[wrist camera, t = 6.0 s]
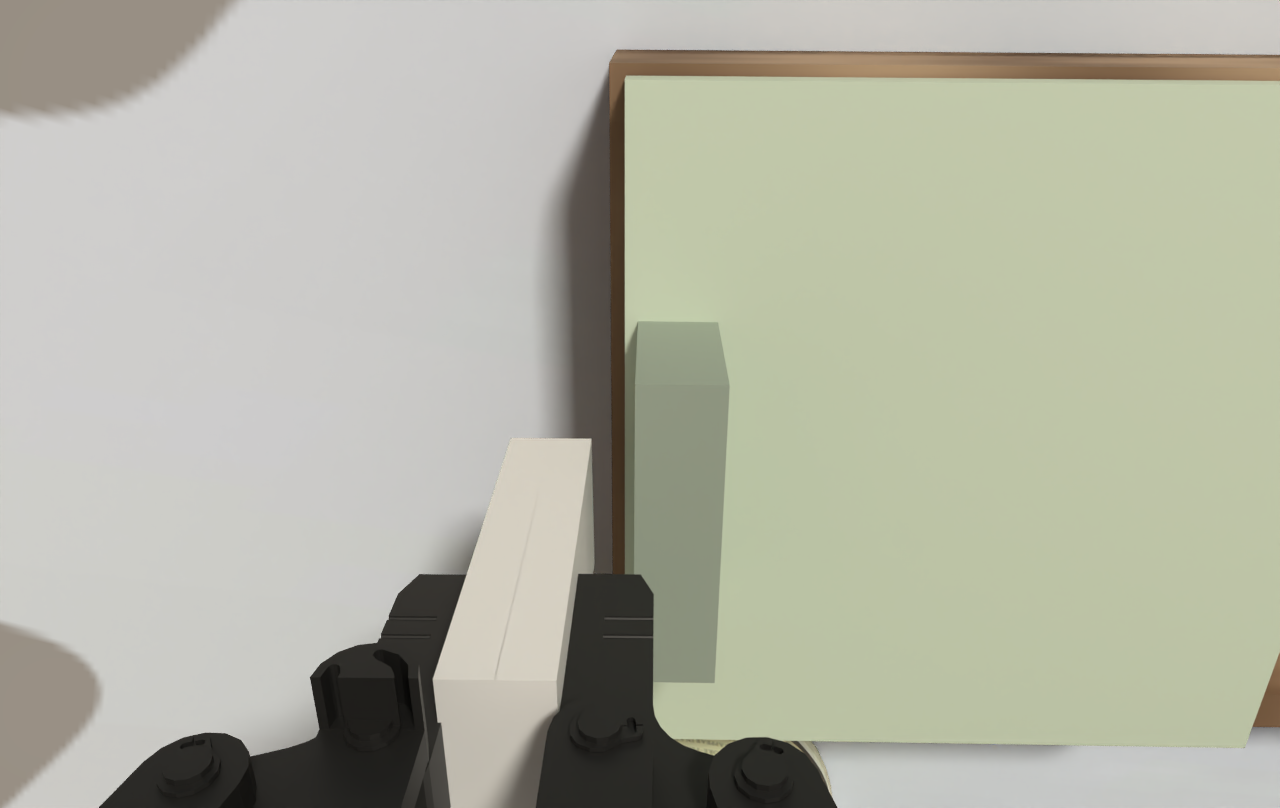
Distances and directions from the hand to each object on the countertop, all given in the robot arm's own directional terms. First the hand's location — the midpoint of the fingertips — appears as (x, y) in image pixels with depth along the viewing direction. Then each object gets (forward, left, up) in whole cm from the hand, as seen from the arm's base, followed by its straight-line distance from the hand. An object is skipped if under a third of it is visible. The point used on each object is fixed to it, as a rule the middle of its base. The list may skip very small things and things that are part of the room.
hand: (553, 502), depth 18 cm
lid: (-8, 0, -2) cm, 9 cm away
